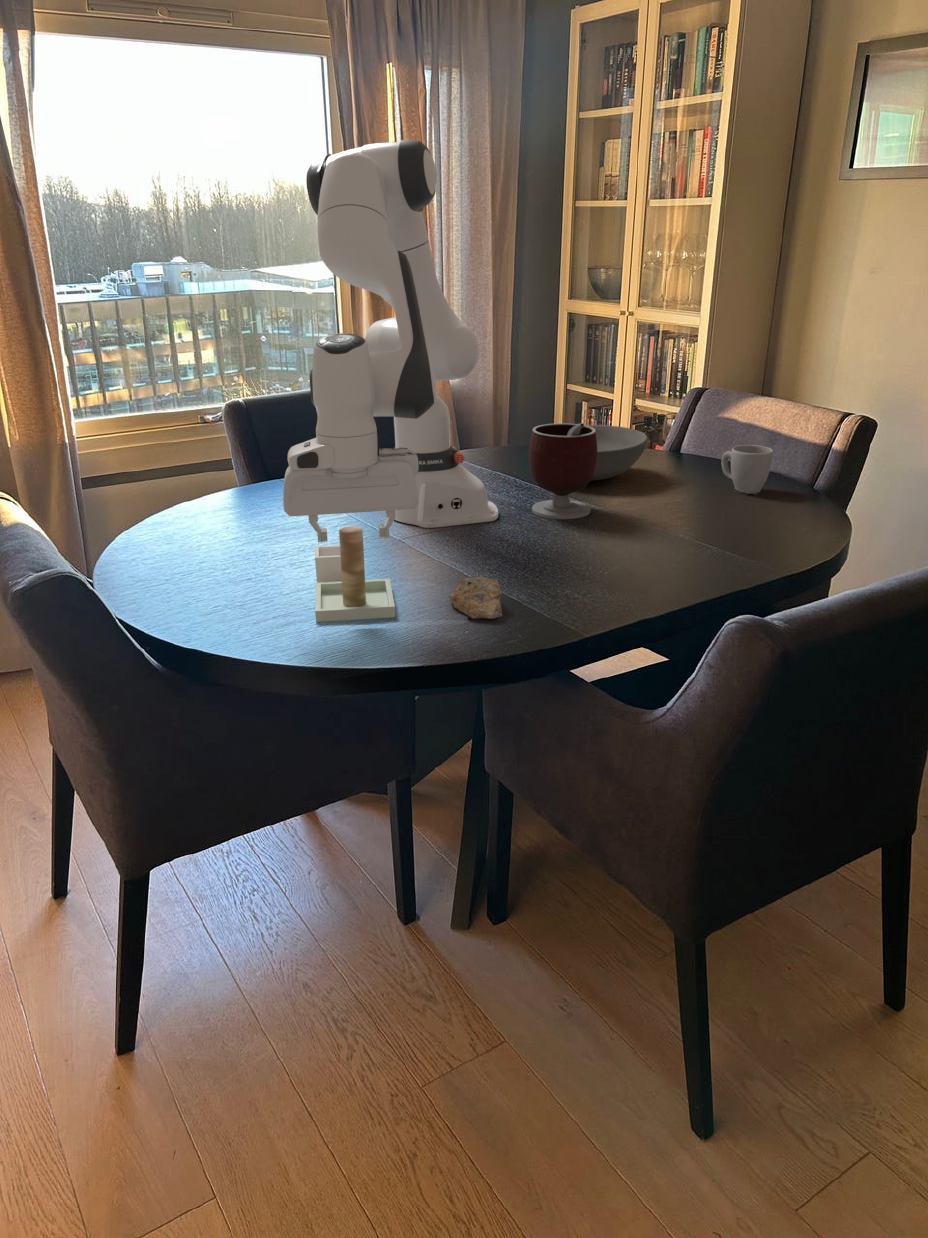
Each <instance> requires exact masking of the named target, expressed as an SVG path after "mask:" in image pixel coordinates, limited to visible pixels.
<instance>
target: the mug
mask: <svg viewBox="0 0 928 1238" xmlns="http://www.w3.org/2000/svg"><path fill="white" fill-rule="evenodd" d="M773 458H774V450H773V449H772V448H771V447H768V446H764V445H757V444H741V445H740V444H739V445H735V446H733V447H732V448H731V450H727V451H725V452H724V453H723V454H722V456H721V464H720V465H721V470H722V472H723V474H724V477H726V478H728V479H730V480H731V481H732V483H733V485H734V490H735V489H736V490H738V491H740V492H746V493H756V492H760V493H761V491H762V488H763V487H764V485H765V483H766V482H767V479H768V477H769V473H770V470H771V468H772V463H773ZM729 459H730V467H729Z"/></svg>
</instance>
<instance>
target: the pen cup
mask: <svg viewBox="0 0 928 1238" xmlns="http://www.w3.org/2000/svg"><path fill="white" fill-rule="evenodd" d="M314 560H315V573H316V574H315V575H316V583H321V582H339V581H342V575H341V557H340V544H338V545H319V546H315V548H314Z"/></svg>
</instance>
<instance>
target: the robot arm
mask: <svg viewBox="0 0 928 1238" xmlns="http://www.w3.org/2000/svg"><path fill="white" fill-rule="evenodd" d="M437 175H438V173H437V167H436V164H435V161H434V158H433V156H432V154H431V151H430V150H429V148H428V147H427V146H426V145H425V143H423V142H422V141H421V140H418V139H401V140H400V141H389V142H375V143H369V144H364V145H363V146H359V147H354V148H351V149H346V150H343V151H341V152H337V153H334V154H331V153H327V154H325V155H322V156H320V157H318V158H316V159H315V160H312V162H311V164H310V165H309V168H308V170H307V172H306V180H305V181H306V190H307V196H308V200H309V202H310V205H311V207H312V209H313V211H314V213H315V214H316V216H317V244H318V250H319V255H320V257H321V260H322V262H323V263H324V265H325V267H326V268H327V269H328V271H330V272H331V273H332V274H333V275H335V276H336V277H337V278H338V279H339V280H341V281H343V282H345V283H346V284H349V285H351V286H354V287H356V288H359V289H362V290H366V291H369V292H371V293H373V294H375V295H378V296H380V297H381V298H382V299H383V300H384V301H385V302H386V303H387V304H388V305H389V306H391V307H392V308H393V311H394V315H395V316H393V317H389V318H385V319H379V320H377V321H374V322H373V323H372V324H371V325H370V327H369V328H368V329H367V331H366V334H365V336H364V337H362V336H361V335H358V334H353V333H348V332H347V333H346V332H345V333H341V332H338V333H332V334H329V335H325V336H322V337H320V338H318V340H316V342H315V343H314V347H313V353H312V368H311V369H310V372H309V388H310V389H309V390H310V400H311V403H312V405H313V406H314V407H315V410H316V414H317V421H316V427H315V434H316V437H314V438H311V439H308V440H306V441H304V442H300V443H297V444H295V445H293V446H291V447H290V448H289V450H288V452H287V462H288V466H287V468H286V470H285V473H284V480H283V491H282V492H283V496H282V499H283V500H282V503H283V505H282V507H283V511H284V512H285V514H286V515H287V516H288V517H307V516H308V523H309V524H310V526H311V527H312V528H313V530H314V531H315V533H316V534H317V542H318V543H328V530H327V529H328V528H327V527H322V526H320V524H319V516H322V515H339V514H340V515H341V514H356V513H371V512H372V513H373V512H374V513H375V512H385V516H386V520H385V521H384V523H382V524H379V525H378V534H379V539H381V540H382V539H390V528H391V526H392V525H393V523H394V520H395V521H397V522H400V523H404V524H408V525H414V526H418V527H420V528H424V529H431V528H433V529H435V528H442V527H451V526H459V525H470V524H478V523H479V524H480V523H486V522H487V523H488V522H494V521H496V520H497V519H498V518H499V509H498V507H497V505H496V504H495V503H493V502H492V501H490V500H489V499H488V493H487V489H486V487H485V485H484V483H483V482H482V481H481V479H479V478H478V477H477V476H476V475H474V473H471V472H470V471H469V470H467V468H465V467H464V466H462V465H461V464H463V463H464V461H465V460H466V459H465V458H466V457H465V455H464V454H463V452H461V451H460V450H459V449H457V448H456V447H455V446H451V429H450V428H451V426H450V425H451V424H450V420H451V419H450V417H451V416H450V409H449V407H448V405H447V404H446V402H445V401H444V400H443V399H442V398H441V397H440V395H438V393H437V386H438V385H437V381H441V382H443V381H444V382H446V381H453V380H454V381H455V380H459V379H464V378H467V377H468V376H469V375H470V374H472V372H473V371H474V369H475V368H476V367H477V366H476V365H477V363H478V362H479V355H480V347H479V342H478V339H477V335H476V334H475V333H474V331H473V330H472V329H471V328H470V327H469V326H467V325H466V324H465V323H464V322H463V321H462V320H461V319H460V318H459V317H458V315H456V313H455V312H454V310H453V308H452V307H451V305H450V304H449V302H448V301H447V300H448V299H446V297H445V295H444V293H443V291H442V288H441V285H440V283H439V280H438V277H437V274H436V273H437V272H436V268H435V265H434V260H433V255H432V250H431V246H430V239H429V236H428V235H429V234H428V231H427V226H426V222H425V219H424V215H423V211H424V207H426V206H428V205H430V203H431V202H432V200H433V199H434V197H435V196H436V192H437V191H436V190H437V182H438V180H437V179H438V178H437V177H438V176H437ZM374 417H393V426H394V427H393V428H394V443H395V444H394V445H395V446H394V447H393V448H388V447H387V448H378V433H377V432H378V431H377V429H378V428H377V425H376V421H375V418H374Z"/></svg>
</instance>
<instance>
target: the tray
mask: <svg viewBox="0 0 928 1238" xmlns="http://www.w3.org/2000/svg"><path fill="white" fill-rule="evenodd" d="M391 584H392V583H391V578H376V579H365V591H366V604H365V605H363V606H360V607H347V606H345V605H344V604H343V592H342V581H339V582H321V583H317V582H315V597H314V598H315V604H314V605H315V606H314V607H315V609H314V610H315V622H316V623H320V622H333V621H335V622H336V621H350V620H351V621H353V620H367V619H383V618H384V619H386V618H387V619H388V618H396V604H395V601H394V595H393V590H392V585H391Z"/></svg>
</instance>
